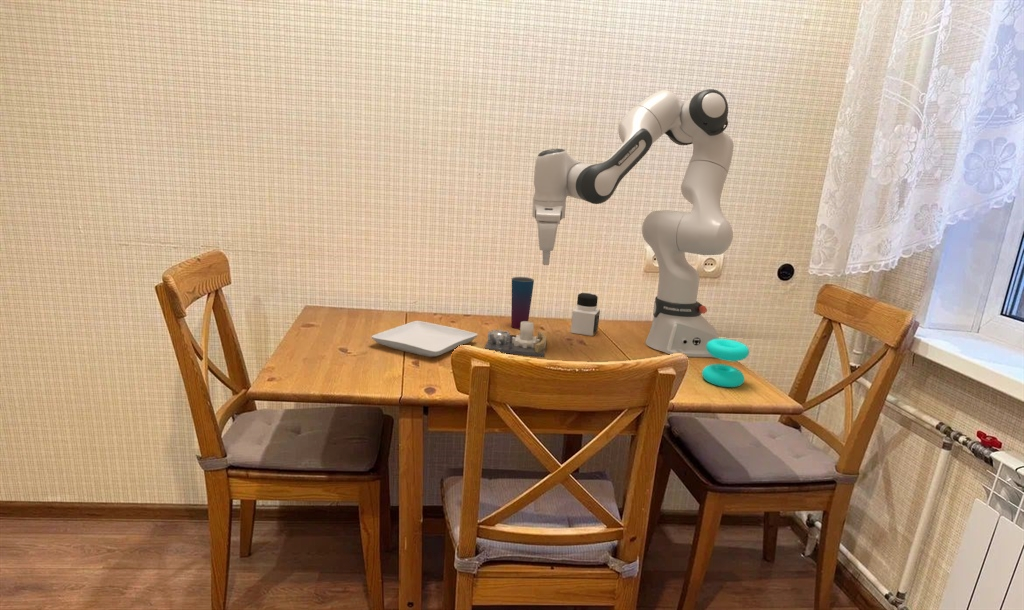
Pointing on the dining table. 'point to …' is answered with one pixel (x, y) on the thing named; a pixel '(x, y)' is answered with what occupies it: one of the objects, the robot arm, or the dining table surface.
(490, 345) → the carrier plate
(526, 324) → the planet gear
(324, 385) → the dining table surface
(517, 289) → the cup
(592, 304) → the medicine bottle
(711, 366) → the donuts
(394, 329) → the salad plate
